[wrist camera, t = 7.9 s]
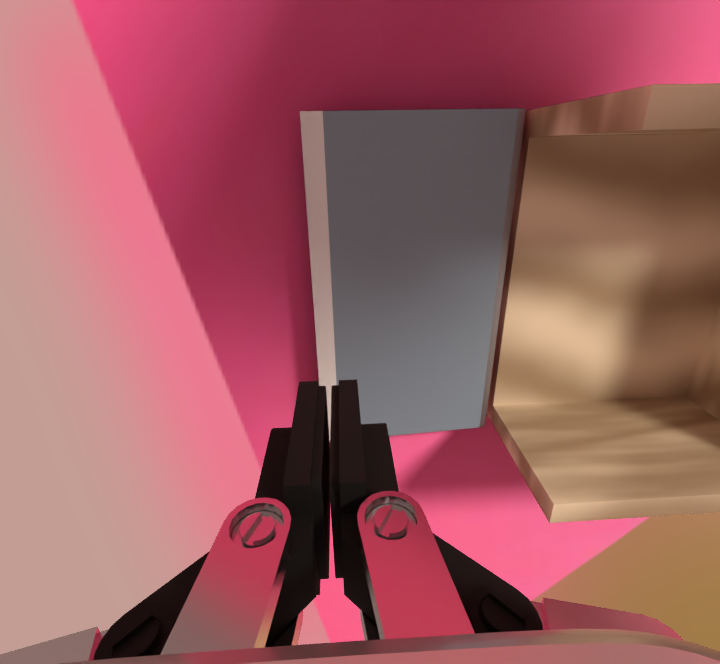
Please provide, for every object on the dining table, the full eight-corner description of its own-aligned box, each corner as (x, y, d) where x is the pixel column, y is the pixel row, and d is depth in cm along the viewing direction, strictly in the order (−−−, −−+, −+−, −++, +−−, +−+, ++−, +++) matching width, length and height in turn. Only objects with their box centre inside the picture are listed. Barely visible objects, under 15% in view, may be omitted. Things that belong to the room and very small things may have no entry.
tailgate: (518, 110, 20) (299, 113, 19) (530, 108, 19) (299, 111, 18) (481, 415, 27) (322, 429, 26) (488, 426, 26) (323, 442, 25)
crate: (524, 111, 20) (652, 84, 12) (792, 106, 21) (1089, 77, 13) (485, 412, 28) (549, 522, 19) (684, 402, 28) (828, 505, 20)
